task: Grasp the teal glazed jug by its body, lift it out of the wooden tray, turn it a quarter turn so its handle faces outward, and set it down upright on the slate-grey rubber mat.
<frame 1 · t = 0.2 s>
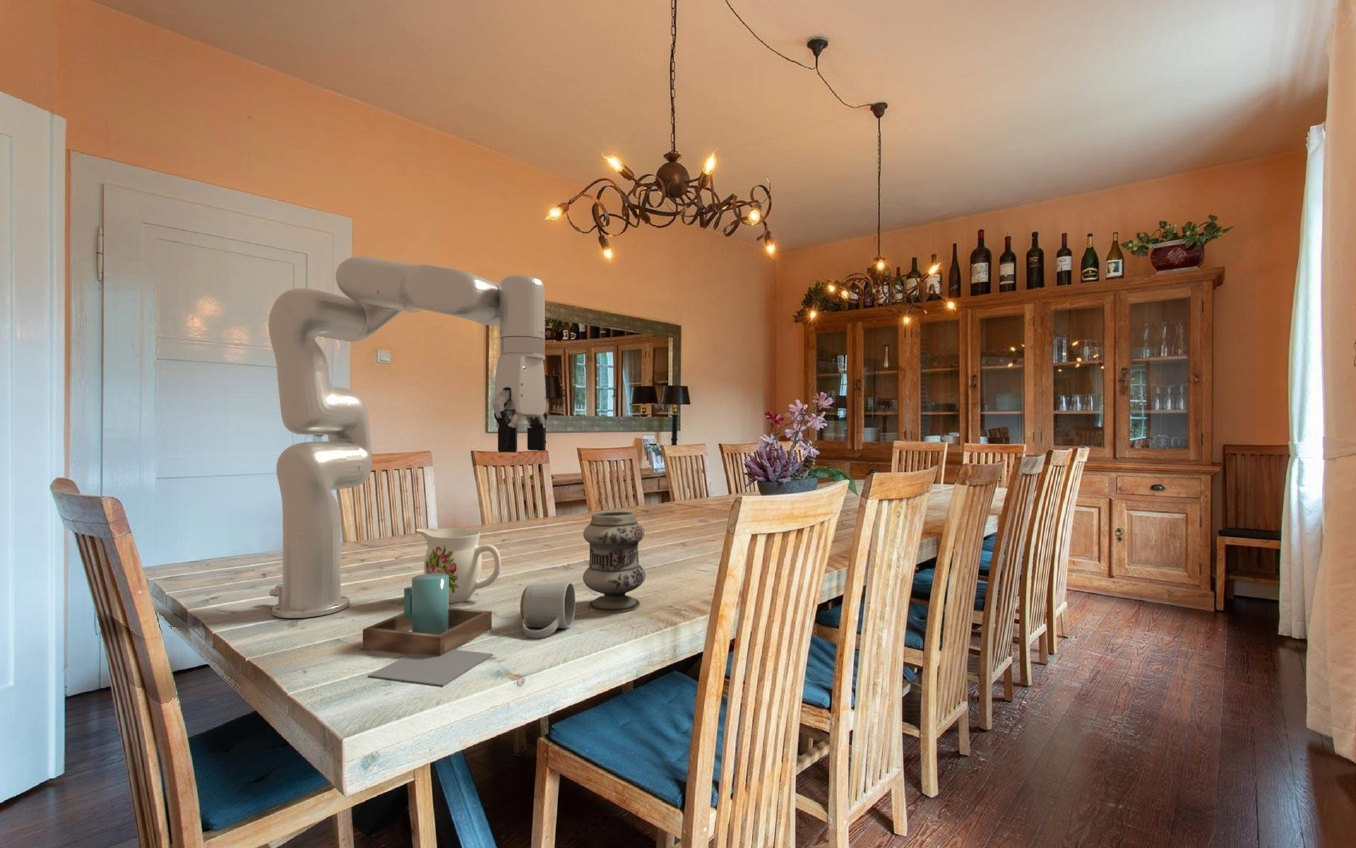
hand: (522, 451, 107), 30 cm above the table, tool pointing down, fingers open, 9 cm apart
slate mat: (433, 665, 91), on the table
teal jug: (425, 607, 103), in the wooden tray
apothecary jar: (614, 606, 122), on the table
pitcher: (457, 599, 127), on the table
wooden tray: (430, 638, 103), on the table
ceramic mug: (547, 630, 108), on the table
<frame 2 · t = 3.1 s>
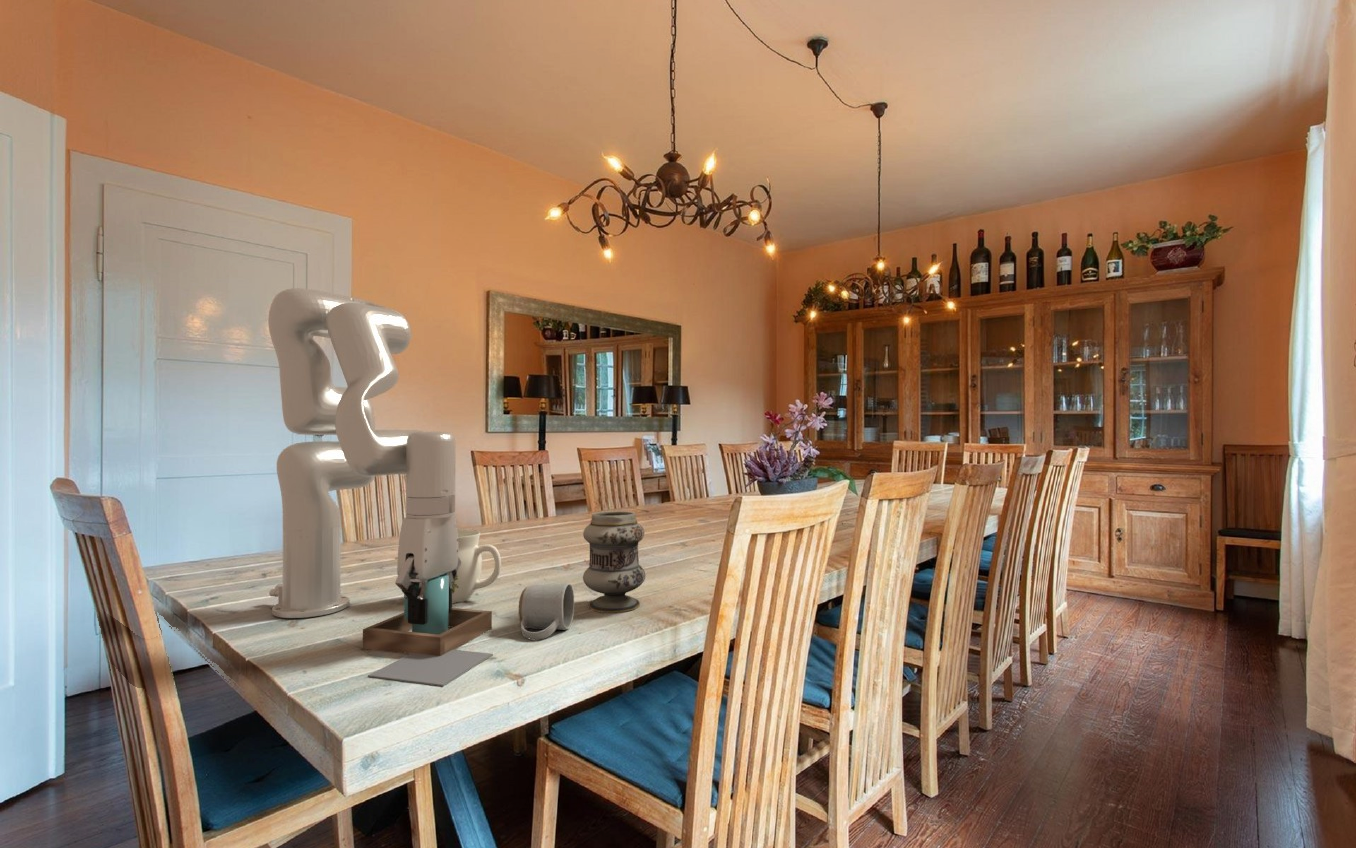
hand: (430, 616, 103), 4 cm above the table, tool pointing down, fingers closed on teal jug, 5 cm apart
teal jug: (425, 607, 103), in the wooden tray, touching gripper
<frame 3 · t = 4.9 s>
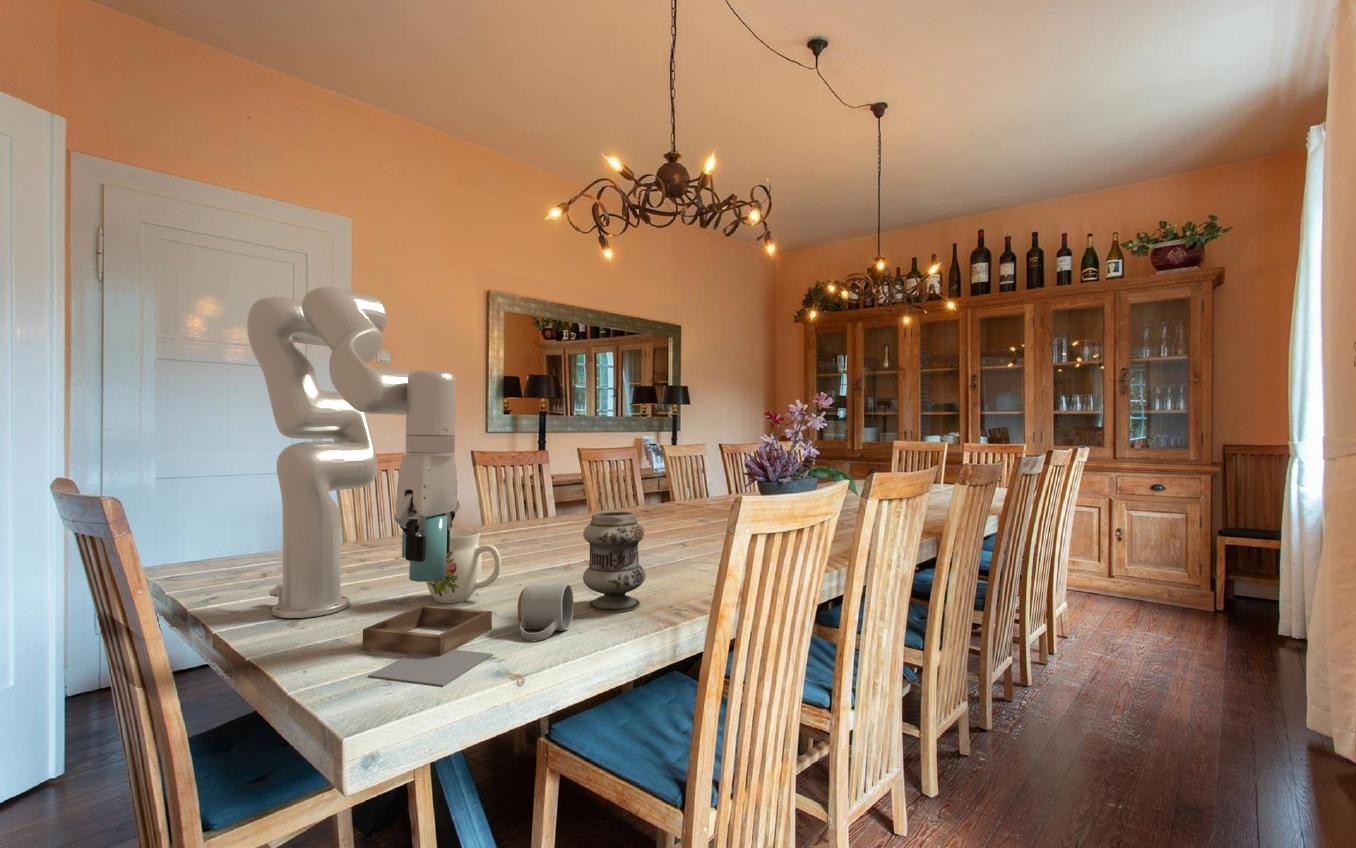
hand: (428, 555, 104), 13 cm above the table, tool pointing down, fingers closed on teal jug, 5 cm apart
teal jug: (423, 546, 104), point 15 cm above the table, touching gripper
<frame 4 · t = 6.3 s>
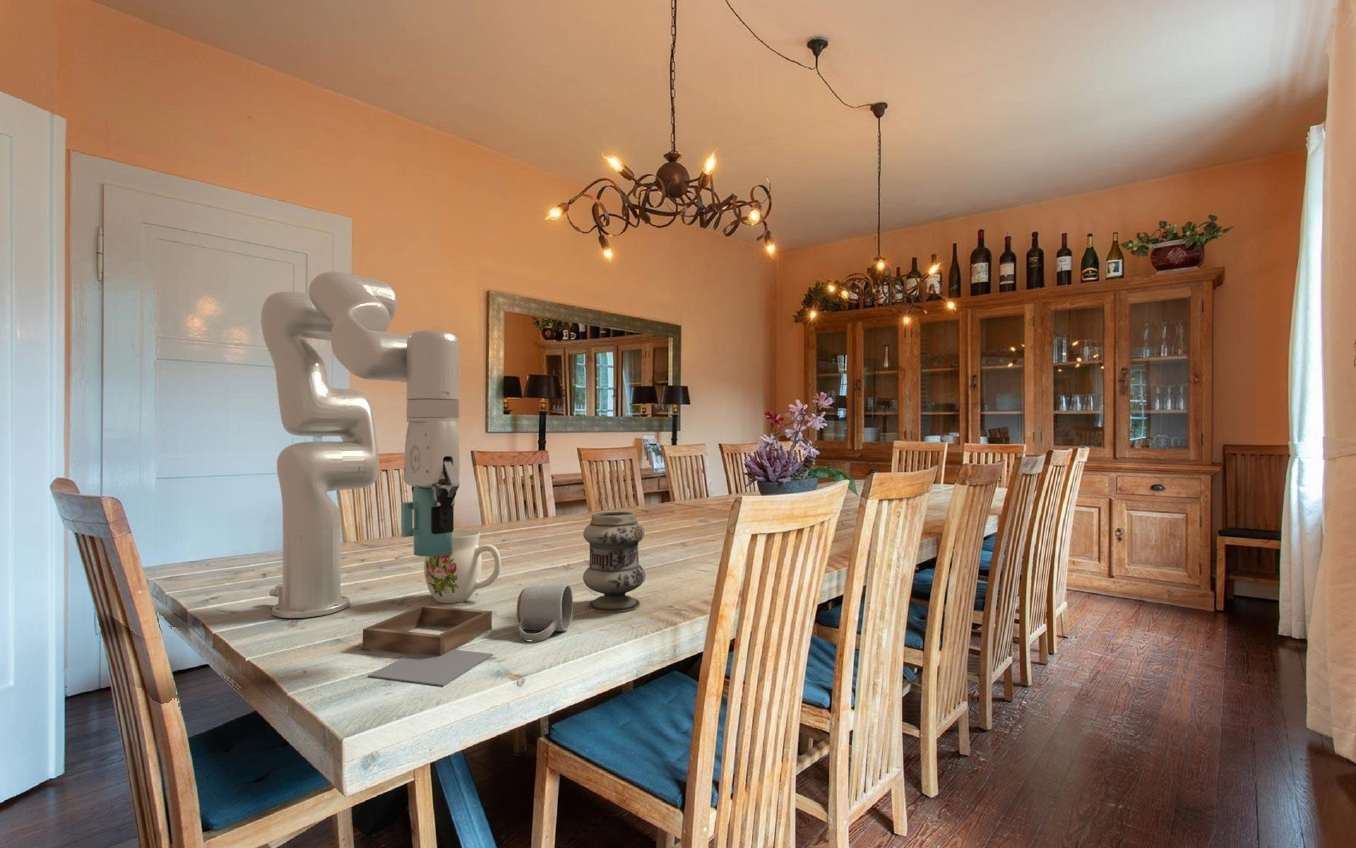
hand: (433, 529, 97), 19 cm above the table, tool pointing down, fingers closed on teal jug, 5 cm apart
teal jug: (427, 520, 96), point 20 cm above the table, touching gripper
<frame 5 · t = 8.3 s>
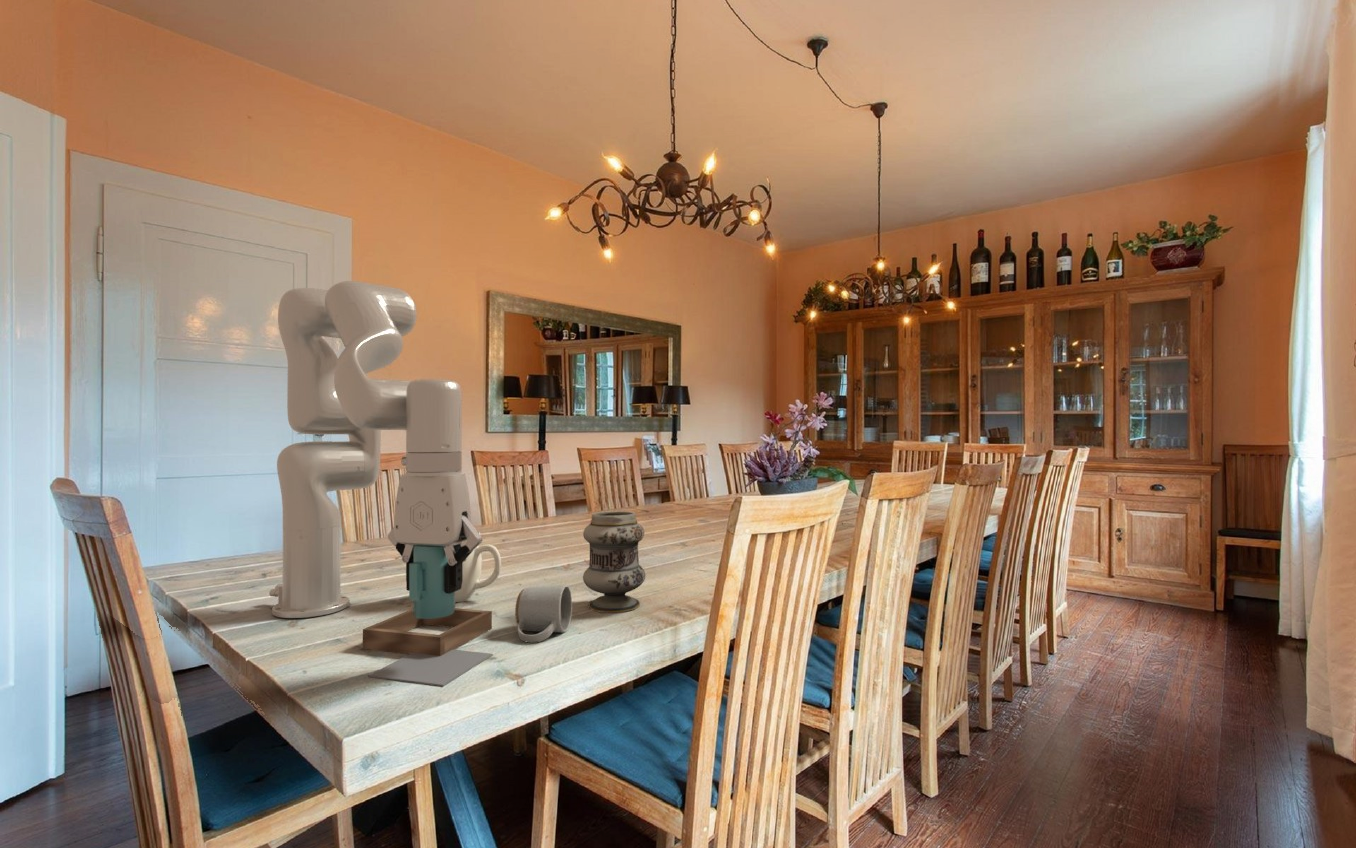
hand: (434, 588, 91), 11 cm above the table, tool pointing down, fingers closed on teal jug, 5 cm apart
teal jug: (430, 579, 91), point 13 cm above the table, touching gripper
when the fingers open (5 cm above the table, at t = 9.8 s): teal jug drops 2 cm, resting on slate mat.
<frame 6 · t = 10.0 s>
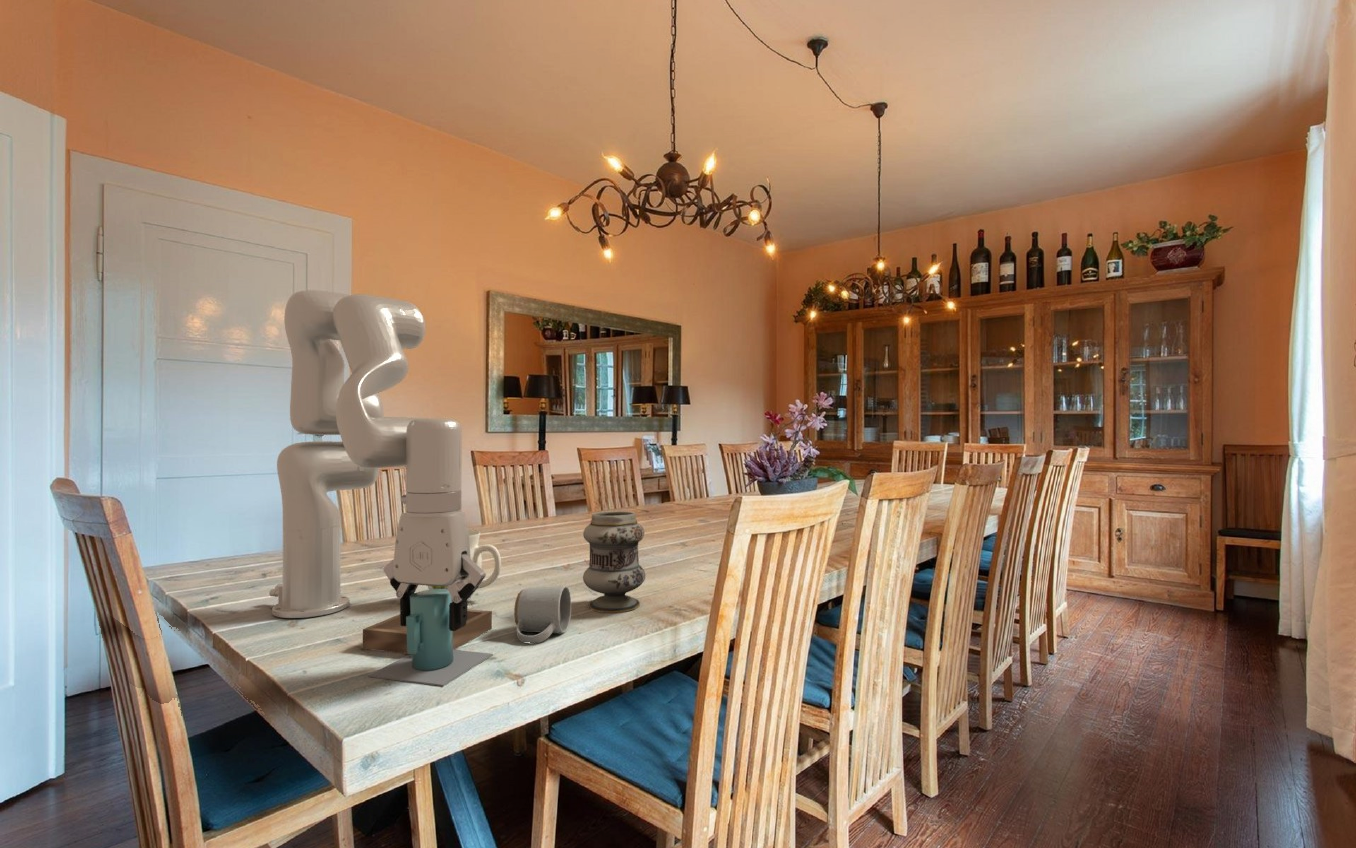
hand: (433, 625, 91), 6 cm above the table, tool pointing down, fingers open, 7 cm apart
teal jug: (427, 630, 91), resting on slate mat
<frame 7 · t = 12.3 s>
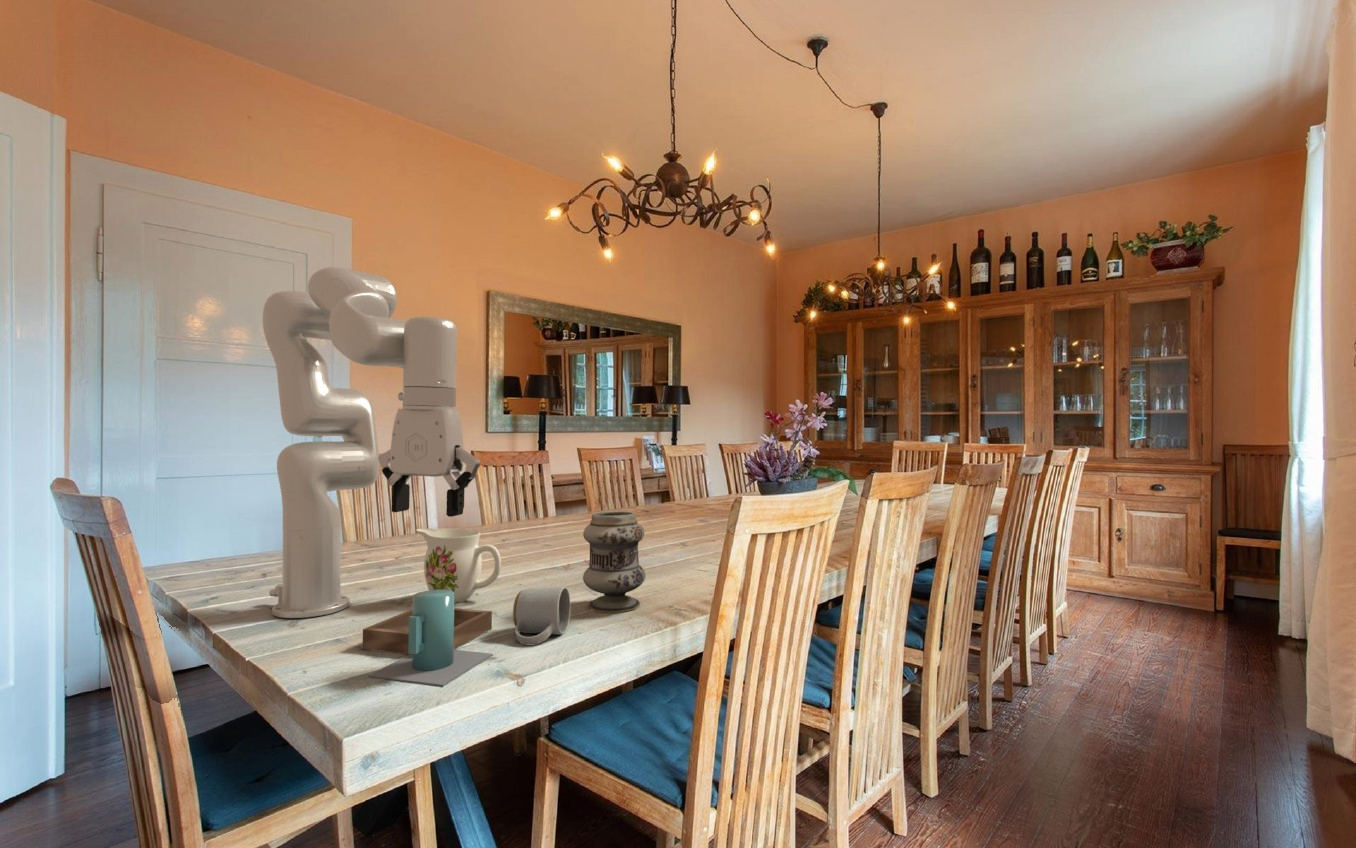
hand: (427, 513, 96), 21 cm above the table, tool pointing down, fingers open, 9 cm apart
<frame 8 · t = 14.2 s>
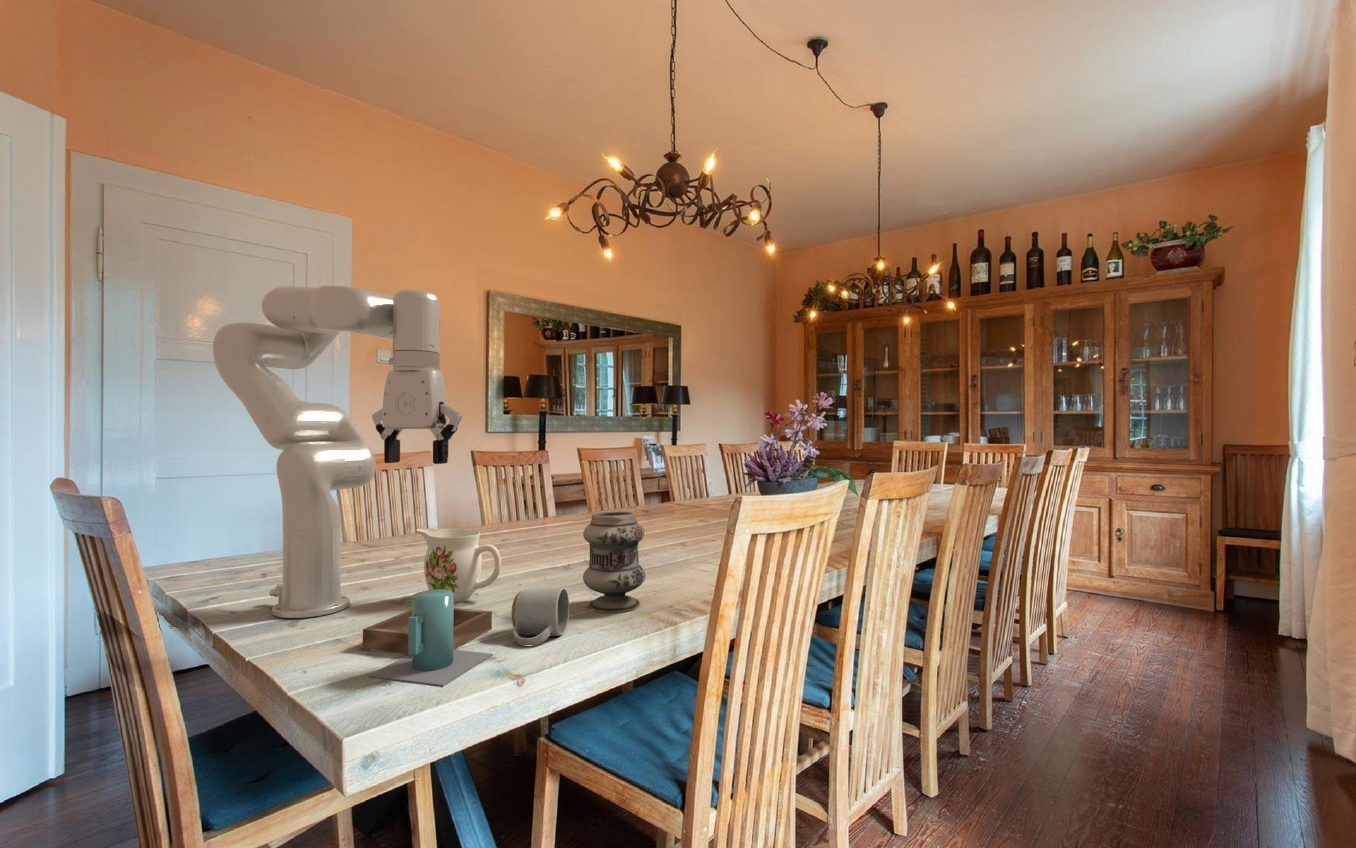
hand: (416, 463, 109), 28 cm above the table, tool pointing down, fingers open, 9 cm apart
at the end: teal jug inside the target area on the slate mat (0.1 cm from its centre), point 5.2 cm above the slate mat's base; teal jug tilted 1°; teal jug moved 12.6 cm from its start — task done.
